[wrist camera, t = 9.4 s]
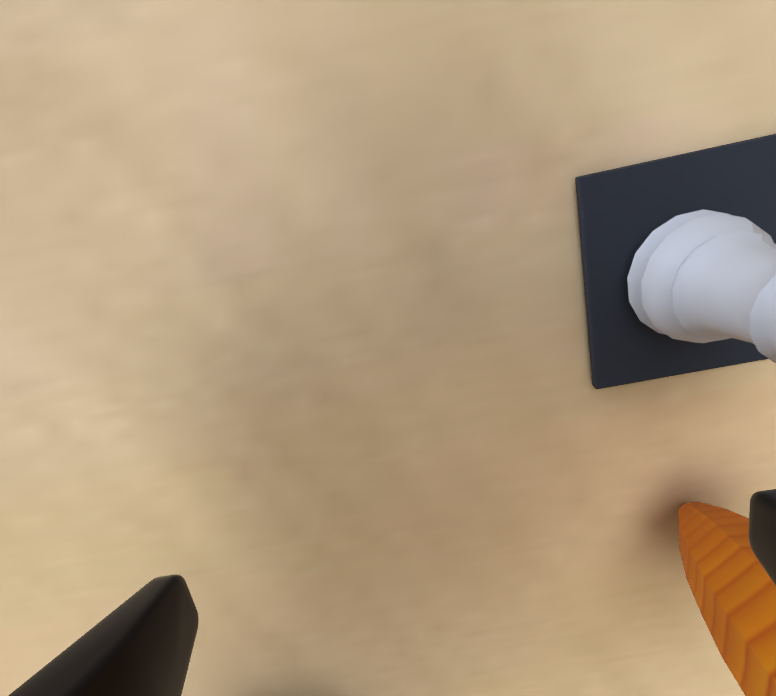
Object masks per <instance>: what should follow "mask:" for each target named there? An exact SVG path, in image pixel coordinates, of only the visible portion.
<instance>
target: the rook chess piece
mask: <svg viewBox="0 0 776 696" xmlns="http://www.w3.org/2000/svg"><path fill="white" fill-rule="evenodd" d="M627 281H628V294H629V302H630V304H631V306H632V308H633V309H634V311H635V313H636V314H637V316H638V318H639V320H640V321H641V322H643V323H644V324H646V325H647V326H649V327H650V328H652V329H653V330H655V331H656V332H658V333H661V334H666V335H668V336H669V337H671V338H672V339H677V340H683V341H689V342H695V343H707V342H712V341H717V340H718V341H720V340H724V339H729V338H734V339H738V340H742V341H746V342H750V343H753V344H755V346H756V348H757V350H758V352H760V353H761V354H763V355H764V356H766V357H767V358H769V359H770V360H772V361H773V362H776V244H774V242H773V240H772V238H771V236H770V235H769V234H767V233H766V232H765V231H763V230H762V229H761V228H759V227H758V226H757V225H755V224H754V223H753V222H751V221H750V220H748V219H747V218H745V217H739V216H733V215H730V214H727V213H721V212H715V211H710V210H704V209H703V210H699V211H694V212H690V213H686V214H681V215H677V216H675V217H674V218H672V219H671V220H669V221H667V222H666V223H664V224H663V225H661V226H660V227H658V228H657V229H655V230H654V231H652V232H651V234H650V235H649V236H648V238H647V239H646V240H645V241H644V243H643V244H642V245H641V247H640V248H639V249H638V250H637V252H636V253H635V256H634V259H633V262H632V265H631V268H630V271H629V274H628V277H627Z"/></svg>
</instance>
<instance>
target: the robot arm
mask: <svg viewBox="0 0 776 696" xmlns="http://www.w3.org/2000/svg"><path fill="white" fill-rule="evenodd" d="M748 537H749V543H750V546H751V548H752V551H753V553H754V554H755V556H756V557H757V559H758V560H759V562H760V563H761V565H762V566H763V568H764V569H765V571H766V572H767V574H768V575H769V577H770V578H771V580H772V581H773V582H774V584H775V585H776V489H773V490H766V491H759V492H756V493H754V494H753V495H752V497H751V500H750V513H749V532H748ZM197 629H198V613H197V609H196V607H195V604H194V602H193V599H192V597H191V594H190V592H189V589H188V587H187V584H186V582H185V580H184V578H183V577H182V576H180V575H170V576H163V577H158V578H155V579H153V580H152V581H150V582H149V583H148V584H147V585H145V586H144V587H143V588H142V589H140V590H139V591H138V592H137V593H135V594H134V595H133V596H132V597H130V598H129V599H128V600H127V601H125V602H124V603H123V604H122V605H120V606H119V607H118V608H117V609H115V610H114V611H113V612H112V613H111V614H109V615H108V616H107V617H106V618H104V619H103V620H102V621H101V622H99V623H98V624H97V625H96V626H94V627H93V628H92V629H91V630H89V631H88V632H87V633H86V634H84V635H83V636H82V637H81V638H79V639H78V640H77V641H76V642H74V643H73V644H72V645H71V646H70V647H68V648H67V649H66V650H65V651H63V652H62V653H61V654H60V655H58V656H57V657H56V658H55V659H53V660H52V661H51V662H50V663H48V664H47V665H46V666H45V667H43V668H42V669H41V670H40V671H38V672H37V673H36V674H35V675H34V676H32V677H31V678H30V679H29V680H27V681H26V682H25V683H24V684H22V685H21V686H20V687H19V688H17V689H16V690H15V691H14V692H12V693H11V694H10V695H9V696H181V694H182V690H183V686H184V682H185V678H186V674H187V670H188V666H189V662H190V657H191V653H192V649H193V645H194V641H195V637H196V633H197Z"/></svg>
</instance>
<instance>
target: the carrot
mask: <svg viewBox="0 0 776 696" xmlns="http://www.w3.org/2000/svg"><path fill="white" fill-rule="evenodd" d="M678 531H679V546H680V552H681V556H682V560H683V565H684V569H685V574H686V578H687V581H688V583H689V585H690V588H691V590H692V592H693V595H694V597H695V600H696V602H697V604H698V607H699V609H700V611H701V614H702V616H703V618H704V620H705V622H706V624H707V626H708V629H709V631H710V633H711V635H712V637H713V639H714V641H715V643H716V645H717V647H718V650H719V652H720V654H721V656H722V658H723V659H724V661H725V663H726V664H727V666H728V668H729V669H730V671H731V672H732V674H733V676H734V677H735V679H736V681H737V682H738V684H739V686H740V687H741V689H742V691H743V692H744V694H745V696H776V585H775V584H774V582H773V581H772V580H771V578H770V577H769V575H768V574H767V572H766V571H765V569H764V568H763V566H762V565H761V563H760V562H759V560H758V559H757V557H756V556H755V554H754V553H753V551H752V548H751V546H750V543H749V537H748V532H749V519H748V518H746V517H744V516H741V515H739V514H736V513H734V512H732V511H729V510H727V509H724V508H720V507H716V506H712V505H709V504H705V503H701V502H690V503H685V504H683V505H682V506H681V508H680V509H679V510H678Z"/></svg>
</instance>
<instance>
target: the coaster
mask: <svg viewBox="0 0 776 696" xmlns="http://www.w3.org/2000/svg"><path fill="white" fill-rule="evenodd" d="M576 187H577V199H578V211H579V223H580V236H581V248H582V260H583V272H584V285H585V297H586V309H587V321H588V334H589V346H590V358H591V370H592V383H593V386H594V387H595V388H596V389H601V388H606V387H612V386H617V385H623V384H629V383H634V382H640V381H645V380H651V379H657V378H662V377H668V376H674V375H679V374H685V373H690V372H696V371H702V370H707V369H713V368H718V367H724V366H730V365H735V364H741V363H746V362H752V361H758V360H763V359H769V358H767V357H766V356H764V355H763V354H761V353H760V352H758V350H757V348H756V346H755V344H753V343H750V342H746V341H742V340H738V339H734V338H729V339H724V340H720V341H718V340H717V341H712V342H707V343H695V342H689V341H683V340H677V339H672V338H671V337H669V336H668V335H666V334H661V333H658V332H656V331H655V330H653V329H652V328H650V327H649V326H647V325H646V324H644V323H643V322H641V321H640V320H639V318H638V316H637V314H636V313H635V311H634V309H633V308H632V306H631V304H630V302H629V294H628V281H627V277H628V274H629V271H630V268H631V265H632V262H633V259H634V256H635V253H636V252H637V250H638V249H639V248H640V247H641V245H642V244H643V243H644V241H645V240H646V239H647V238H648V236H649V235H650V234H651V232H652V231H654V230H655V229H657V228H658V227H660V226H661V225H663V224H664V223H666V222H667V221H669V220H671V219H672V218H674V217H675V216H677V215H681V214H686V213H690V212H694V211H699V210H703V209H704V210H710V211H715V212H721V213H727V214H730V215H733V216H739V217H745V218H747V219H748V220H750V221H751V222H753V223H754V224H755V225H757V226H758V227H759V228H761V229H762V230H763V231H765V232H766V233H767V234H769V235H770V236H771V238H772V240H773V242H774V244H776V134H773V135H769V136H764V137H759V138H755V139H750V140H746V141H741V142H736V143H732V144H727V145H722V146H718V147H713V148H709V149H704V150H699V151H695V152H690V153H686V154H681V155H676V156H672V157H667V158H662V159H658V160H653V161H649V162H644V163H639V164H635V165H630V166H626V167H621V168H616V169H612V170H607V171H602V172H598V173H593V174H589V175H584V176H579V177H576Z"/></svg>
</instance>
